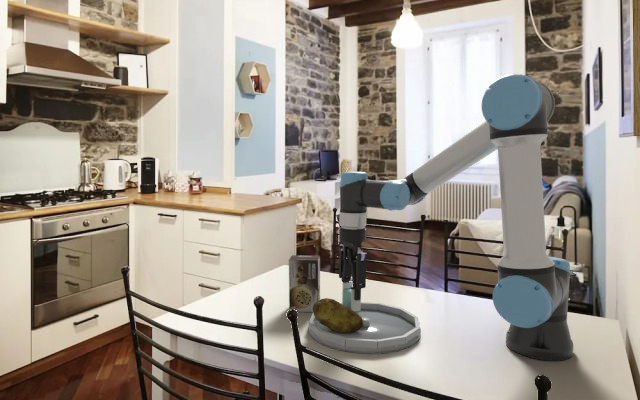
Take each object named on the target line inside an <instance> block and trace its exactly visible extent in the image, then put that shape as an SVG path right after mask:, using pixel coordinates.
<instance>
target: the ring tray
mask: <svg viewBox="0 0 640 400" xmlns="http://www.w3.org/2000/svg"><path fill="white" fill-rule="evenodd" d="M340 303H341V304H342V302H340ZM358 314H359V315H360V316H361V317H362V320H363V326H362V327H361V328H360V329H359V330H358V331H355V332H350V333H338V332H335V331H332V330H330V329H329V328H328V327H326V326H324V325H322V324H321V323H320V322H319V321H318V320H317V319H316V317H315V316H314V313H313V312H312V314H311V317H310V319H309V321H308V333H309V335H310V337H311V338H312V339H313V340H314V341H315V342H317V343H319V344H321V345H323V346H325V347H327V348H330V349H333V350H337V351H340V352H345V353H353V354H365V355H366V354H368V355H369V354H371V355H372V354H373V355H375V354H386V353H387V354H388V353H394V352H398V351H403V350H405V349H409V348H410V347H413V346H414V345H415V344H417V342H419V340H420V339H421V335H422V334H421V333H422V330H421V326H420V322H419V317H418V316H416V315H415V314H413V313H411V311H410V312H409V311H408V310H406V309H404V308H402V307H398V306H395V305H389V304H386V303H381V302H367V301H365V302H363V301H361V311H360V312H359V313H358Z"/></svg>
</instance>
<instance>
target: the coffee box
mask: <svg viewBox="0 0 640 400" xmlns="http://www.w3.org/2000/svg"><path fill="white" fill-rule="evenodd" d="M288 291H289V292H288V304H289V305H288V308H289V309H295V310H297V311H298V312H300V313H313V306H314V304H315V303H316V302H317V301H319V300H321V256H320V255H306V254H305V255H302V254H300V255H299V254H298V255H297V254H292V255H291V256H290V257H289V259H288ZM289 309H288V310H289Z"/></svg>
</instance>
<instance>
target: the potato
mask: <svg viewBox="0 0 640 400" xmlns="http://www.w3.org/2000/svg"><path fill="white" fill-rule="evenodd" d="M341 303H342V302H338V301H337V300H335V299H333V298H328V297H325V298H320V300H319V301H317V302H316V303H315V304H314V306H313V312H312V314H313V313H314V316H315V317H316V319H317V320H318V321H319V322H320V323H321V324H322V325H324V326H326V327H328V328H329V329H330V330H332V331H335V332H338V333H350V332H355V331H358V330H359V329H360V328H361V327H362V326H363V320H362V317H361V316H360V315H359V314H358V313H356V312H355V311H353V310H351V309H349V308H347V307H346V306H344V305H343V304H341Z"/></svg>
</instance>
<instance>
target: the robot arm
mask: <svg viewBox="0 0 640 400" xmlns="http://www.w3.org/2000/svg"><path fill="white" fill-rule="evenodd" d="M555 104H556V101H555V97H554V94H553V92H552V90H551V89H550V88H549V87H548V86H547V85H546V84H544V83H542V82H541V81H537V80H536V79H534V78H533V77H531V76H530V75H529V76H528V75H526V74H518V73H513V74H506V75H504V76H501V77H498V78H497V79H496V80H494V81H493V82H492V83H491V84H490V85H489V86H488V88H486V90H485V92H484V94H483V97H482V99H481V112H482V115H483V117H484V120H485V121H484V122H482V123H481V124H480V125H478V126H476V127H475V128H473V129H472V130H470V132H468V133H466V134H465V135H463V136H462V137H461V138H459V139H457V140H456V141H455V142H454V143H452V144H451V145H449V146H448V147H446V148H445V149H444V150H442V151H441V152H439V153H438V154H436V155H435V156H433V157H432V158H431V159H429V160H428V161H426V162H424V163H423V164H422V165H420V166H419V167H418V168H416V169H415V170H414V171H413V172H411V173H410V174H408V175H406V176H405V177H404V178H401V179H400V178H399V179H391V180H378V179H377V180H375V179H373V180H372V179H369V177H368V176H369V175H368V173H367V172H365V171H344V172H342V173H341V174H340V184H339V199H340V200H339V203H340V204H339V205H340V207H339V218H338V219H339V221H338V222H339V223H338V224H339V226H341V227H339V231H338V232H339V237H338V239H339V241H340V242H343V244H339V245H338V250H339V251H338V252H339V253H338V258H339V259H338V260H339V261H338V265H339V266H338V278H339V279H341V282H342V293H341V294H342V299H341V300H342V301H341V303H342V304H343V289H345V288H351V310H353V311H361V302H362V297H361V296H362V289H366V287H367V286H366V282H367V259H368V253H367V252H363V247H362V243H363V242H366V240H367V228H366V226H367V218H368V214H367V213H368V212H367V211H368V210H367V209H368V208H371V209H381V210H388V211H403V210H404V209H405V208H406V207H407V206H414V205H416V204H418V203H421V202H422V201H424V200H425V198H426V196H428V195H429V194H430V193H431V192H434V191H435V190H436V189H438V188H439V187H441V186H442V185H444V184H446V183H447V182H448V181H450V180H452V179H453V178H455V177H456V176H458V175H459V174H461V173H463V172H464V171H466V170H468V169H469V168H470V167H472V166H474V165H475V164H477V163H478V162H480V161H482V160H483V159H484V158H486V157H487V156H490V155H491V154H492V153H494V152H496V151H497V155H498V158H497V159H498V174H499V175H498V176H499V189H500V190H499V192H500V193H499V194H500V207H501V226H502V242H503V243H502V244H503V255H502V256H501V258H500V259H499V260H498V261H497V264H496V265H497V279H498V280H497V282H496V284H495V286H494V288H493V291H492V303H493V306H494V308H495V310H496V312H497V313H498V315H499V316H500V317H501V318H502V319H503V320H504V321H506V322H507V323H509V324H510V325H509V328H508V330H507V331H506V334H505V345H506V346H507V347H508V348H509V350H511V351H513V352H515V353H517V354H519V355H522V356H525V357H528V358H530V359H536V360H543V361H551V362H552V361H554V362H555V361H563V360H568V359H569V358H572V357H573V355H574V343H573V339H572V338H571V333H570V330H569V325H568V309H569V308H568V307H569V295H570V294H569V293H570V292H569V291H570V278H571V277H570V276H571V274H572V272H571V265H570V262H569V261H568V260H567V259H565V258H559V257H555V256H549V255H547V243H546V241H547V240H546V228H545V227H546V226H545V210H544V209H545V205H544V189H543V169H542V168H543V167H542V152H541V151H542V150H541V144H542V143H543V142H544V141H545V139H547V138H548V132H549V131H548V123H549V121H550V120H551V118H552V116H553V115H554V112H555V107H556V105H555Z"/></svg>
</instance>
